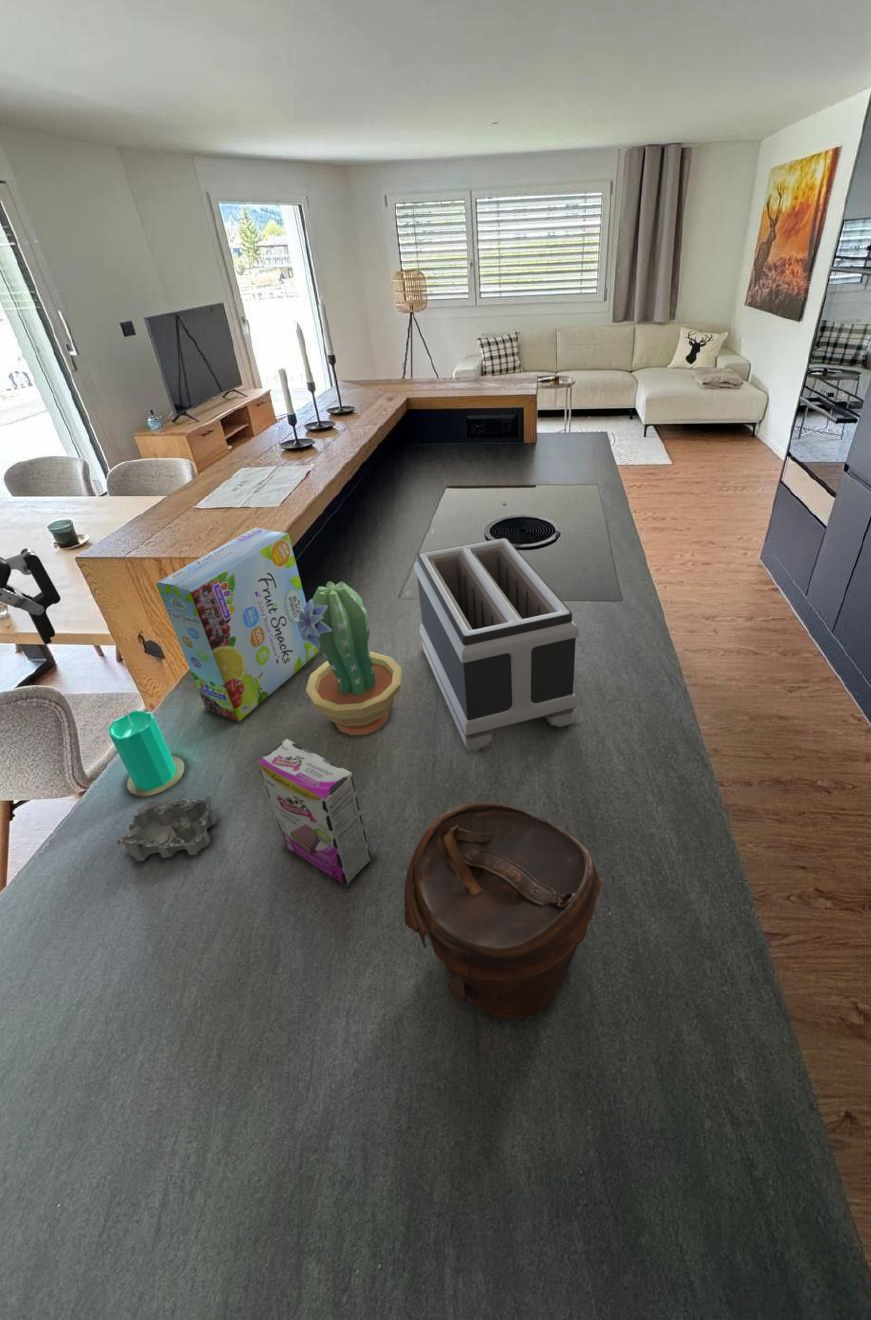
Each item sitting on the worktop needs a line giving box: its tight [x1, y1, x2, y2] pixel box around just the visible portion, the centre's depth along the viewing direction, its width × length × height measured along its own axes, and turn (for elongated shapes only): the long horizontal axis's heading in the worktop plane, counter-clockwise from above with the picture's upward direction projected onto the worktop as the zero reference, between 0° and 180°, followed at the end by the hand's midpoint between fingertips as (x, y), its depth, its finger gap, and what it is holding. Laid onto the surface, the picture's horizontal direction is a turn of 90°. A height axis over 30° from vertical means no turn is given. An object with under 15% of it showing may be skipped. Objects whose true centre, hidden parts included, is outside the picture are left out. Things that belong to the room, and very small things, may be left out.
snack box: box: [155, 527, 320, 723], centre depth 106 cm, size 22×9×26 cm, turn 154°
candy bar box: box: [257, 738, 372, 886], centre depth 76 cm, size 11×5×16 cm, turn 58°
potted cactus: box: [297, 580, 403, 736], centre depth 97 cm, size 15×15×25 cm
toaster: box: [413, 537, 579, 751], centre depth 105 cm, size 18×34×21 cm, turn 18°
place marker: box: [126, 755, 185, 797], centre depth 94 cm, size 8×8×1 cm
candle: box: [108, 710, 176, 790], centre depth 90 cm, size 6×6×12 cm
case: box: [403, 801, 602, 1019], centre depth 64 cm, size 18×20×18 cm
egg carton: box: [117, 795, 217, 862], centre depth 83 cm, size 11×8×4 cm
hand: (2, 657), depth 67 cm, fingers open, 8 cm apart
